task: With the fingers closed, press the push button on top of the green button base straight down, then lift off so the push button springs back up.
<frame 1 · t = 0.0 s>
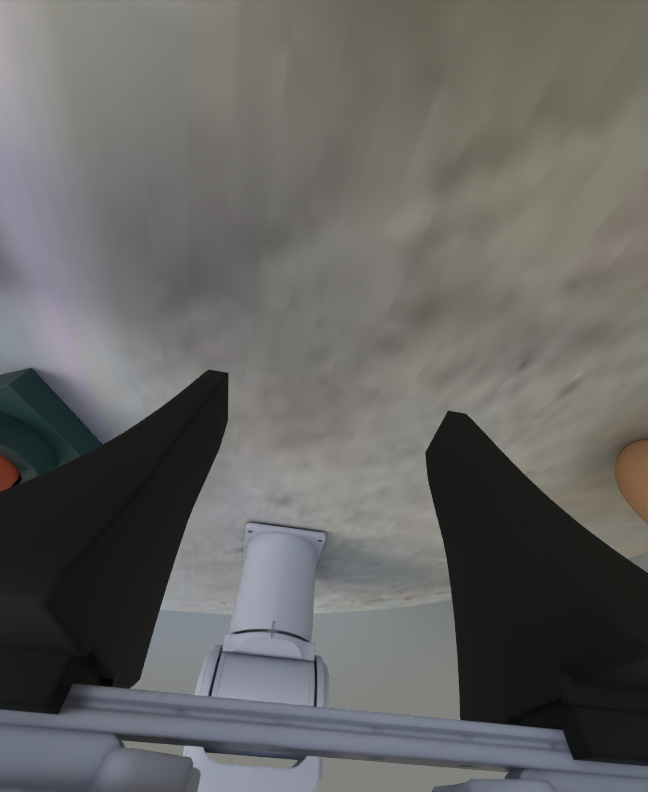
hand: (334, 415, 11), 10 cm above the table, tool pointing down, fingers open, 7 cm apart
egg: (632, 444, 26), on the table
green button base: (41, 444, 28), on the table
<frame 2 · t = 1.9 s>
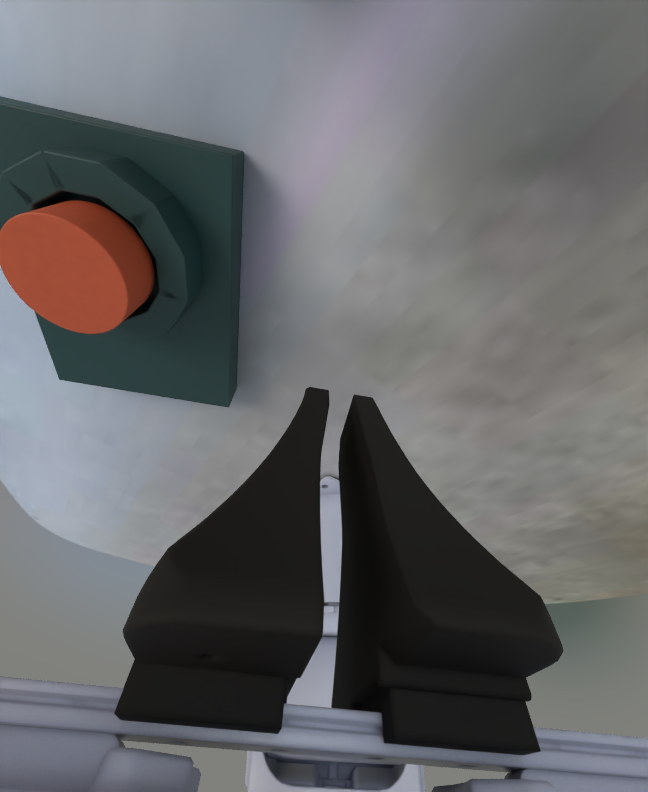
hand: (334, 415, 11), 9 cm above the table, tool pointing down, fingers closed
green button base: (145, 277, 18), on the table
push button: (84, 269, 13), point 5 cm above the table, slide at 0.1 cm
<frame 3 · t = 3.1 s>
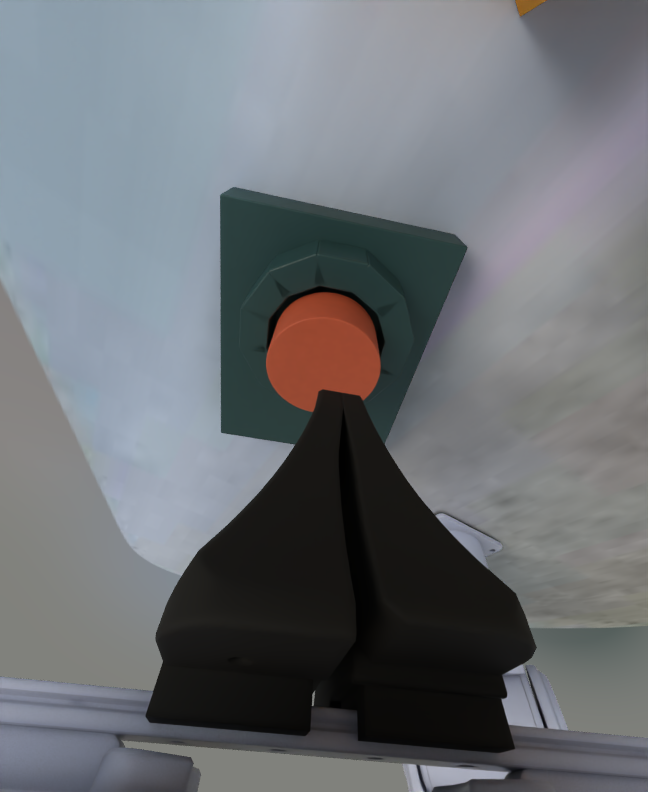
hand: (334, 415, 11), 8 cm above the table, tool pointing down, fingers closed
green button base: (321, 339, 19), on the table
push button: (324, 354, 14), point 5 cm above the table, slide at 0.1 cm
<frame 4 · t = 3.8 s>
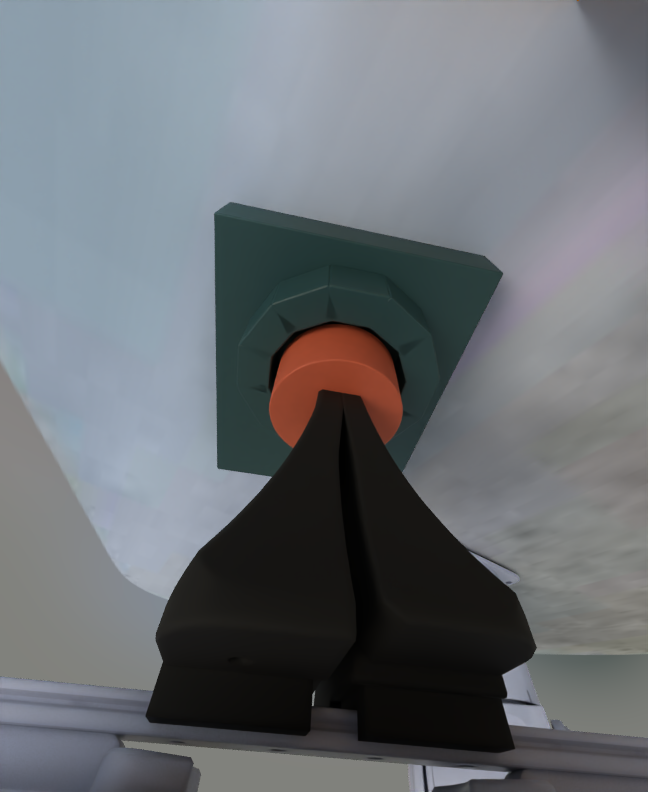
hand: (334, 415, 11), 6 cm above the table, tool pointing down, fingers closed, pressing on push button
green button base: (328, 368, 17), on the table
push button: (335, 394, 12), point 5 cm above the table, slide at -0.1 cm, touching gripper
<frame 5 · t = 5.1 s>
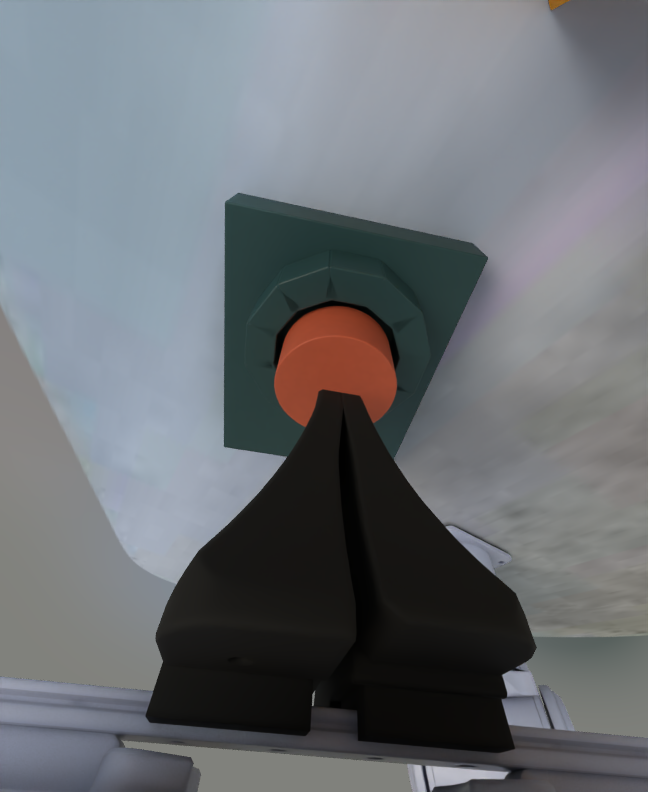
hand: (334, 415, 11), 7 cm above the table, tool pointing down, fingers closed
green button base: (329, 351, 18), on the table
push button: (335, 371, 13), point 5 cm above the table, slide at 0.1 cm
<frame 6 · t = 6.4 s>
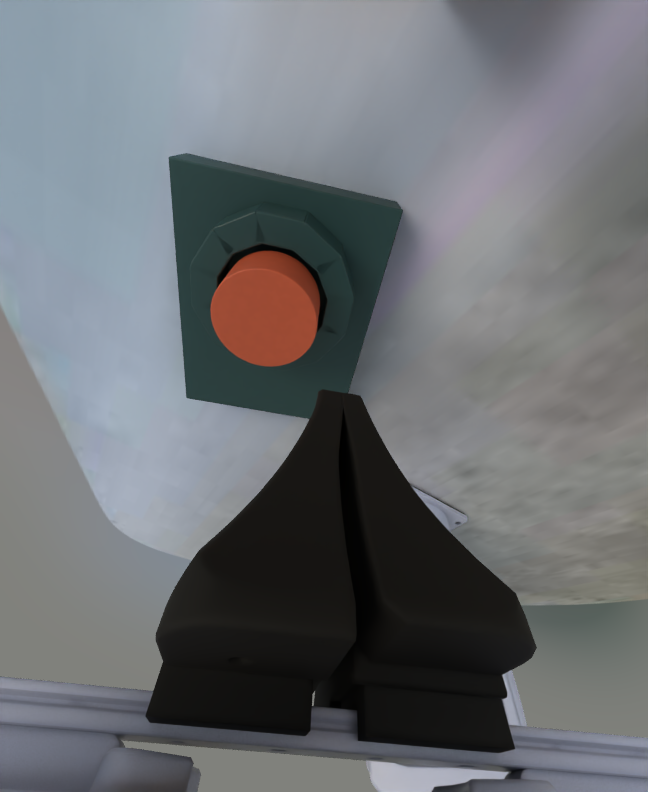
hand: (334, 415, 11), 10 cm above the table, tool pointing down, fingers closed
green button base: (279, 306, 20), on the table
push button: (268, 310, 15), point 5 cm above the table, slide at 0.1 cm
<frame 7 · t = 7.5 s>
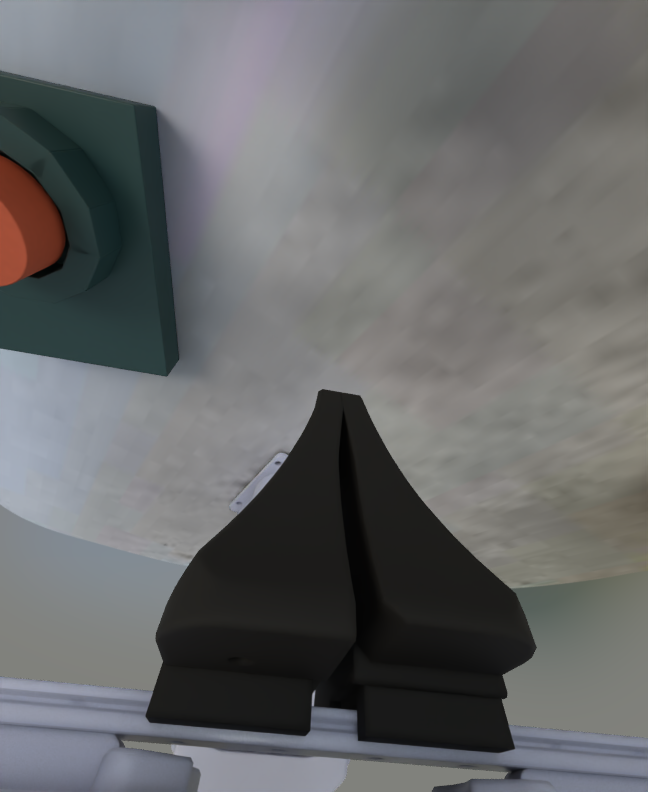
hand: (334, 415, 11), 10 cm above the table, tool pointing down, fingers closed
green button base: (74, 241, 18), on the table
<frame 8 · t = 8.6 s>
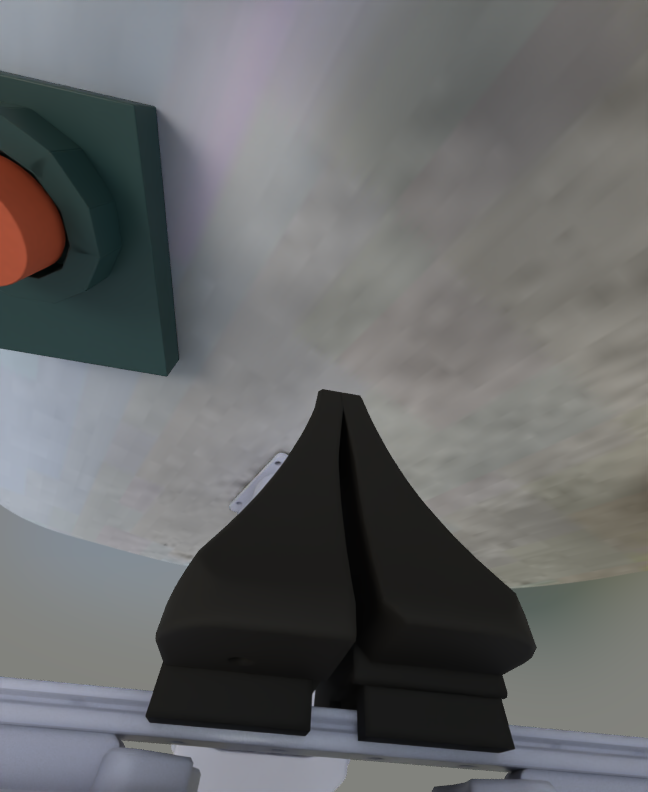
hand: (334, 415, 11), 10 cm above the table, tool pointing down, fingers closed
green button base: (74, 241, 18), on the table
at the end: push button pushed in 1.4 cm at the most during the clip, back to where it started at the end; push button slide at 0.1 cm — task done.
